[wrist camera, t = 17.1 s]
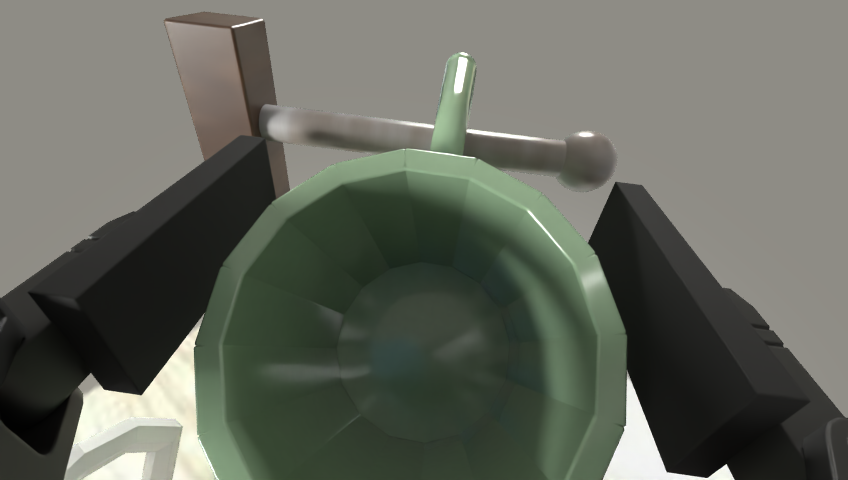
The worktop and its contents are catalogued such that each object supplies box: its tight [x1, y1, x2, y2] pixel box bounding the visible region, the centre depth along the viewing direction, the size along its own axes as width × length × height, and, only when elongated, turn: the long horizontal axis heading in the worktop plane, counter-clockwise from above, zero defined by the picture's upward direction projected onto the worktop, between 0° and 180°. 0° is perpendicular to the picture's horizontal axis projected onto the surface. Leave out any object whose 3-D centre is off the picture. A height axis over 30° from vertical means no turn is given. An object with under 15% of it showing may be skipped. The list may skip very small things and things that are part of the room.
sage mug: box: [194, 52, 627, 480], centre depth 13 cm, size 14×9×10 cm
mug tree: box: [164, 12, 617, 199], centre depth 17 cm, size 15×6×20 cm, turn 84°
